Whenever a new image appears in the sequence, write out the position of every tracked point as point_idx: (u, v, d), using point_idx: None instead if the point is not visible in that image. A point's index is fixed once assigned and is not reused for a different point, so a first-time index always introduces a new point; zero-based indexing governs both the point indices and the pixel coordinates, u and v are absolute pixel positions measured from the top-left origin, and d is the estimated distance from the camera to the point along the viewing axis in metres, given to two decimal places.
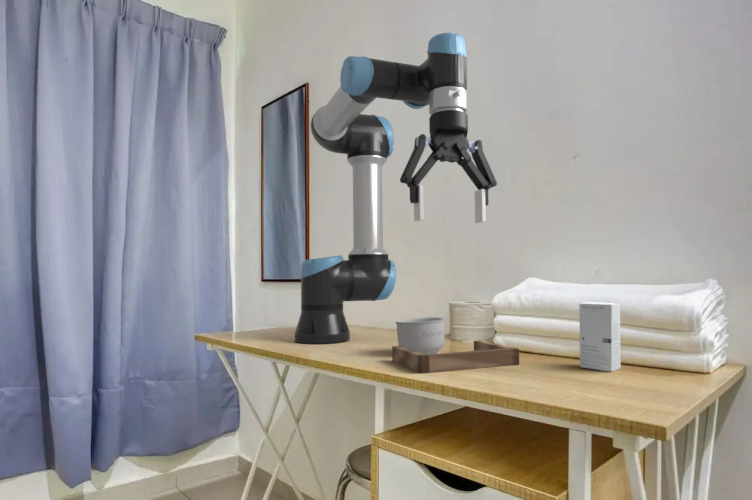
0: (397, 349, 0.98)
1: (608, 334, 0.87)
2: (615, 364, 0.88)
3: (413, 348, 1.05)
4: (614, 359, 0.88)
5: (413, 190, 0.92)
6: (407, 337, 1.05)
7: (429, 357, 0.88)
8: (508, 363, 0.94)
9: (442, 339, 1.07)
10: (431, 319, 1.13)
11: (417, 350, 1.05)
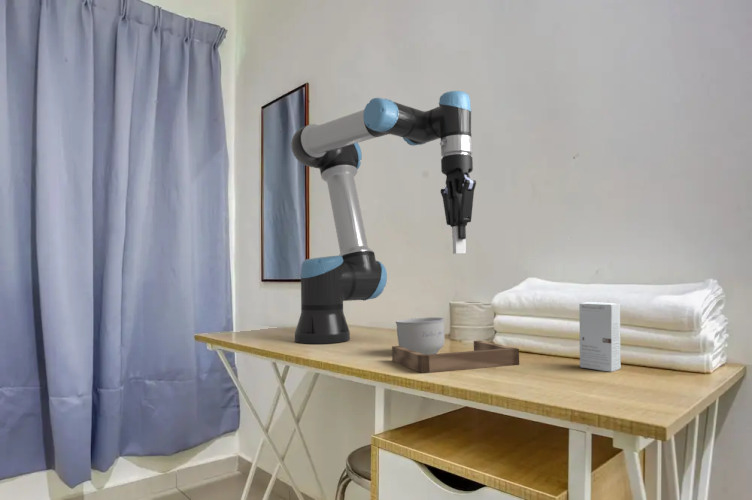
0: (397, 349, 0.98)
1: (608, 334, 0.87)
2: (614, 364, 0.88)
3: (413, 348, 1.05)
4: (614, 359, 0.88)
5: None
6: (407, 337, 1.05)
7: (429, 357, 0.88)
8: (508, 363, 0.94)
9: (442, 339, 1.07)
10: (431, 319, 1.13)
11: (417, 350, 1.05)
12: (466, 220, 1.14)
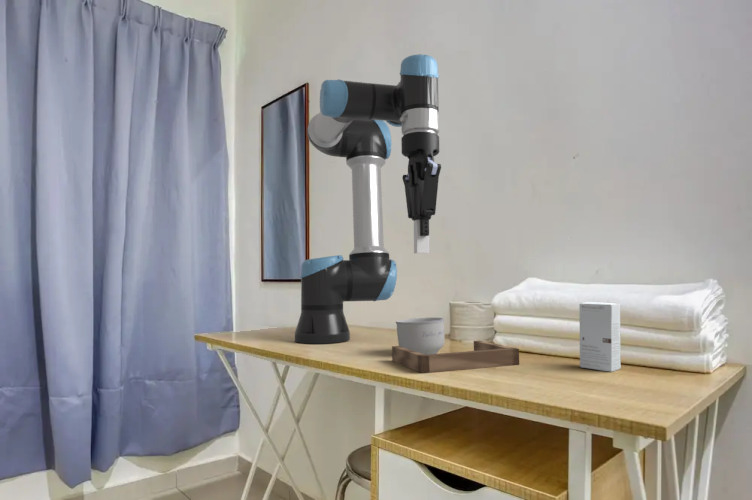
0: (397, 349, 0.98)
1: (608, 334, 0.87)
2: (615, 364, 0.88)
3: (413, 348, 1.05)
4: (614, 359, 0.88)
5: None
6: (407, 337, 1.05)
7: (429, 357, 0.88)
8: (508, 363, 0.94)
9: (442, 339, 1.07)
10: (431, 319, 1.13)
11: (417, 350, 1.05)
12: (429, 213, 0.93)
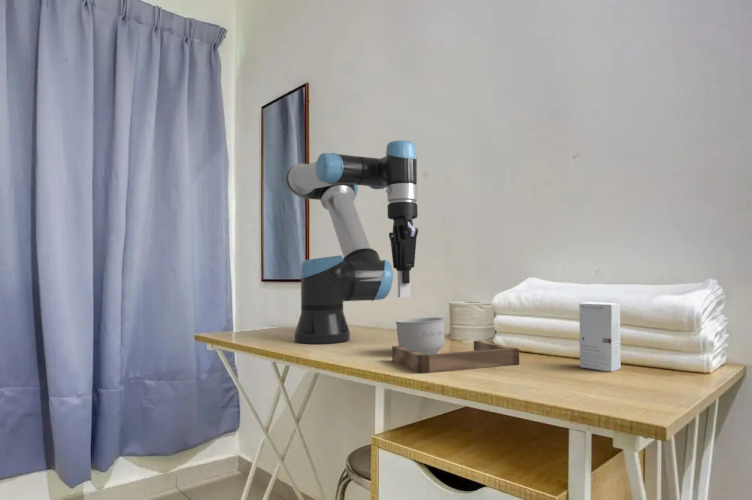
0: (397, 349, 0.98)
1: (608, 334, 0.87)
2: (615, 364, 0.88)
3: (413, 348, 1.05)
4: (614, 359, 0.88)
5: None
6: (407, 337, 1.05)
7: (429, 357, 0.88)
8: (508, 363, 0.94)
9: (442, 339, 1.07)
10: (431, 319, 1.13)
11: (417, 350, 1.05)
12: (409, 266, 1.18)
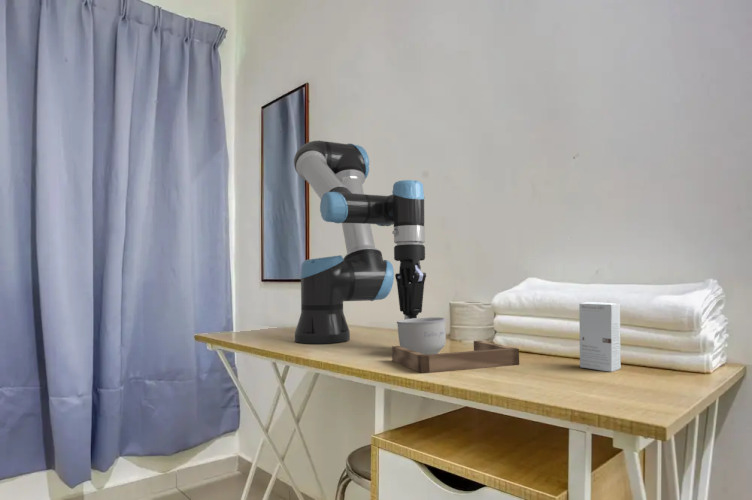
0: (397, 349, 0.98)
1: (608, 334, 0.87)
2: (614, 364, 0.88)
3: (414, 348, 1.04)
4: (614, 359, 0.88)
5: None
6: (408, 337, 1.05)
7: (429, 357, 0.88)
8: (508, 363, 0.94)
9: (444, 340, 1.06)
10: (432, 319, 1.13)
11: (418, 350, 1.04)
12: (416, 311, 1.14)
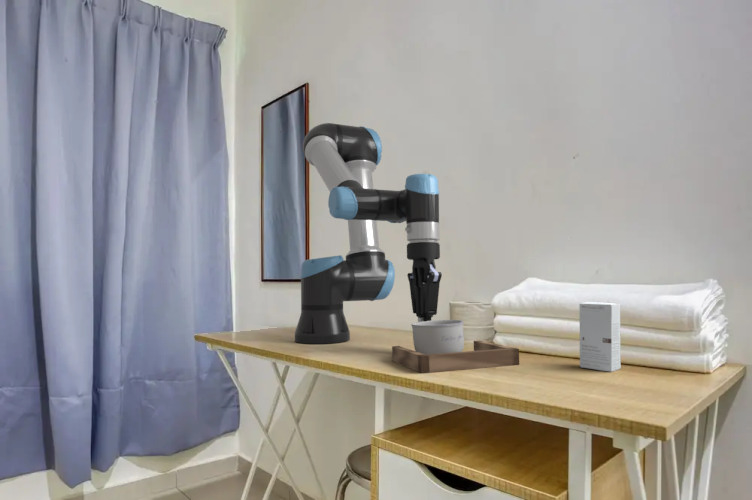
0: (397, 349, 0.98)
1: (608, 334, 0.87)
2: (615, 364, 0.88)
3: (431, 353, 0.97)
4: (614, 359, 0.88)
5: None
6: (425, 341, 0.98)
7: (429, 357, 0.88)
8: (508, 363, 0.94)
9: (462, 344, 0.99)
10: (448, 322, 1.06)
11: None
12: (431, 313, 1.07)
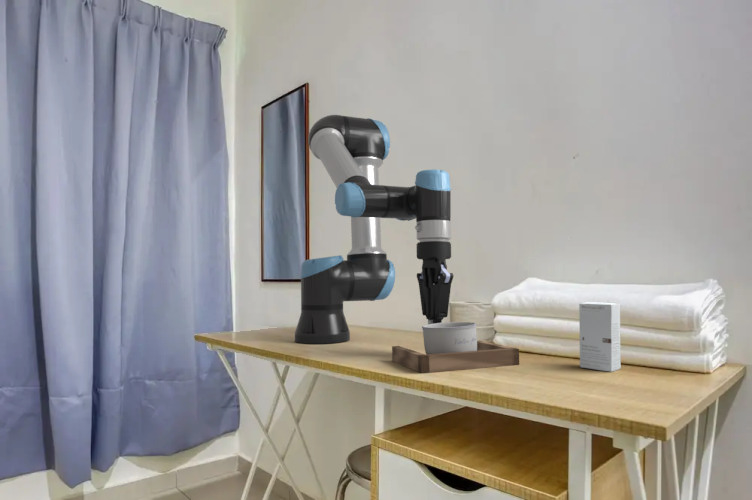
0: (397, 349, 0.98)
1: (608, 334, 0.87)
2: (614, 364, 0.88)
3: None
4: (614, 359, 0.88)
5: None
6: (437, 344, 0.93)
7: (429, 357, 0.88)
8: (508, 363, 0.94)
9: (476, 347, 0.95)
10: (460, 324, 1.01)
11: None
12: (442, 316, 1.03)
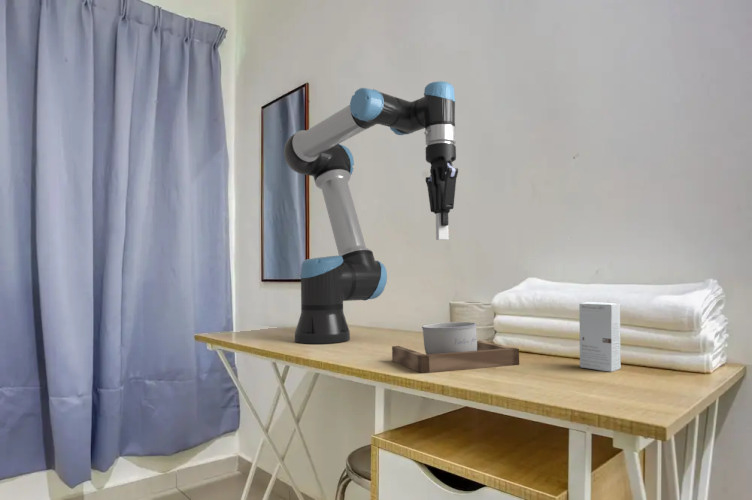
0: (397, 349, 0.98)
1: (608, 334, 0.87)
2: (615, 364, 0.88)
3: None
4: (614, 359, 0.88)
5: None
6: (437, 345, 0.93)
7: (429, 357, 0.88)
8: (508, 363, 0.94)
9: (475, 347, 0.95)
10: (460, 324, 1.01)
11: None
12: (448, 207, 1.18)
